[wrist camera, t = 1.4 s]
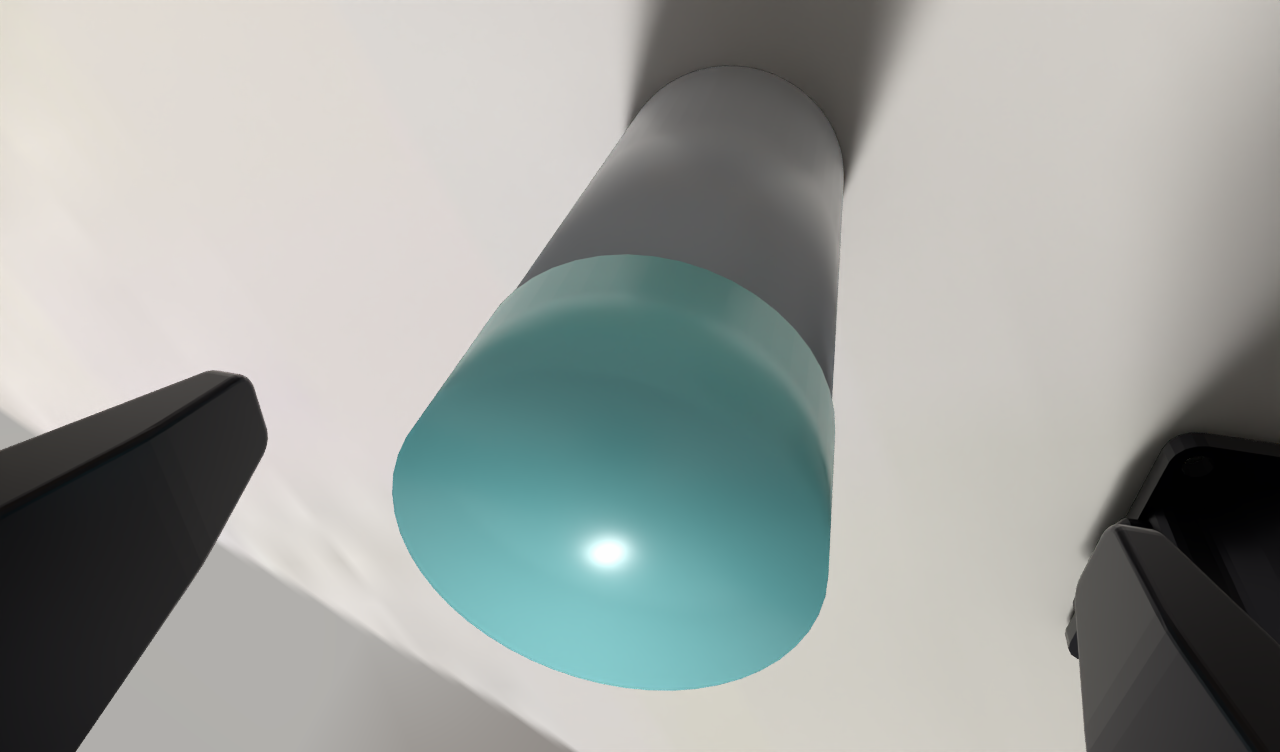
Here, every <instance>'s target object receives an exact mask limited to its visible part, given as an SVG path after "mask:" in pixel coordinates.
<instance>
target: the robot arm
mask: <svg viewBox="0 0 1280 752" xmlns="http://www.w3.org/2000/svg"><path fill="white" fill-rule="evenodd" d="M267 440H268V433H267V428H266V425H265V422H264V418H263V415H262V412H261V409H260V405H259V402H258V399H257V396H256V392H255V389H254V386H253V384H252V383H251V381H250V380H249V379H248V378H247V377H245V376H243V375H240V374H235V373H229V372H223V371H214V370H212V371H206V372H203V373H201V374H198V375H196V376H193V377H190V378H188V379H185V380H183V381H180V382H177V383H175V384H172V385H169V386H167V387H164V388H162V389H159V390H156V391H154V392H151V393H149V394H146V395H143V396H141V397H138V398H136V399H133V400H130V401H128V402H125V403H123V404H120V405H117V406H115V407H112V408H110V409H107V410H104V411H102V412H99V413H97V414H94V415H91V416H89V417H86V418H83V419H81V420H78V421H76V422H73V423H70V424H68V425H65V426H63V427H60V428H57V429H55V430H52V431H50V432H47V433H44V434H42V435H39V436H37V437H34V438H31V439H29V440H26V441H24V442H21V443H18V444H16V445H13V446H11V447H8V448H5V449H3V450H0V752H76V750H77V749H78V748H79V746H80V744H81V743H82V742H83V740H84V739H85V737H86V736H87V734H88V733H89V731H90V730H91V729H92V727H93V726H94V724H95V723H96V721H97V720H98V718H99V717H100V715H101V714H102V713H103V711H104V710H105V708H106V707H107V705H108V704H109V702H110V701H111V699H112V698H113V696H114V695H115V693H116V692H117V690H118V689H119V688H120V686H121V685H122V683H123V682H124V680H125V679H126V677H127V676H128V674H129V673H130V671H131V670H132V669H133V667H134V666H135V664H136V663H137V661H138V660H139V658H140V657H141V655H142V654H143V652H144V651H145V650H146V648H147V647H148V645H149V644H150V642H151V641H152V639H153V638H154V636H155V635H156V634H157V632H158V631H159V629H160V628H161V626H162V625H163V623H164V622H165V620H166V619H167V617H168V616H169V614H170V613H171V612H172V610H173V609H174V607H175V606H176V604H177V603H178V601H179V600H180V598H181V597H182V595H183V594H184V593H185V591H186V590H187V588H188V587H189V585H190V584H191V582H192V581H193V579H194V578H195V576H196V575H197V573H198V571H199V570H200V568H201V567H202V565H203V564H204V562H205V560H206V558H207V557H208V555H209V553H210V551H211V550H212V548H213V546H214V545H215V543H216V541H217V539H218V537H219V535H220V534H221V532H222V530H223V528H224V526H225V524H226V523H227V521H228V519H229V517H230V515H231V513H232V512H233V510H234V508H235V506H236V504H237V502H238V501H239V499H240V497H241V495H242V493H243V491H244V489H245V488H246V486H247V484H248V482H249V480H250V478H251V477H252V475H253V473H254V471H255V469H256V467H257V466H258V464H259V462H260V460H261V458H262V456H263V454H264V452H265V449H266V446H267ZM1197 456H1204V457H1203V458H1202V459H1201V460H1200V461H1197V462H1194V463H1185V462H1186V461H1187V460H1188V459H1190V458H1193V457H1197ZM1073 606H1074V610H1075V613H1074V615H1073V617H1072V619H1071V621H1070V623H1069V625H1068V626H1067V628H1066V632H1065V636H1066V640H1067V645H1068V649H1069V651H1070V653H1071V655H1073V656H1074V657H1076V658H1077V659H1079V665H1080V679H1081V692H1082V706H1083V719H1084V732H1085V742H1086V751H1087V752H1280V444H1275V443H1268V442H1262V441H1255V440H1248V439H1241V438H1235V437H1228V436H1221V435H1215V434H1208V433H1187V434H1183V435H1179V436H1177V437H1175V438H1174V439H1172V440H1170V441H1169V442H1168V443H1167V444H1166V445H1165V446H1164V448H1163V449H1162V451H1161V453H1160V454H1159V456H1158V458H1157V460H1156V462H1155V464H1154V466H1153V467H1152V469H1151V471H1150V473H1149V475H1148V477H1147V479H1146V481H1145V482H1144V484H1143V486H1142V488H1141V490H1140V492H1139V494H1138V496H1137V497H1136V499H1135V501H1134V503H1133V505H1132V507H1131V509H1130V511H1129V512H1128V514H1127V516H1126V518H1123V519H1121V520H1120V521H1119V522H1117V523H1116V524H1115V525H1111V526H1109V527H1108V528H1107V529H1106V530H1105V531H1104V533H1103V534H1102V536H1101V538H1100V540H1099V542H1098V544H1097V546H1096V548H1095V550H1094V552H1093V553H1092V555H1091V557H1090V559H1089V561H1088V563H1087V565H1086V567H1085V569H1084V571H1083V573H1082V575H1081V577H1080V579H1079V581H1078V585H1077V588H1076V594H1075V598H1074V601H1073Z"/></svg>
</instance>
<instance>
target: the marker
mask: <svg viewBox="0 0 1280 752" xmlns="http://www.w3.org/2000/svg"><path fill="white" fill-rule="evenodd" d="M843 187H844V166H843V160H842V154H841V149H840V146H839V143H838V140H837V137H836V135H835V133H834V131H833V128H832V126H831V124H830V122H829V121H828V119H827V118H826V116H825V115H824V114H823V112H822V111H821V109H820V108H819V107H818V106H817V105H816V104H815V103H814V102H813V100H812V99H811V98H810V97H808V96H807V95H806V94H805V93H804V92H803V91H801V90H800V89H799V88H797V87H796V86H794V85H793V84H791V83H790V82H788V81H786V80H785V79H782V78H780V77H778V76H776V75H774V74H771V73H768V72H765V71H762V70H758V69H754V68H748V67H742V66H719V67H710V68H706V69H702V70H698V71H694V72H691V73H689V74H686V75H684V76H681V77H679V78H677V79H676V80H674V81H672V82H671V83H669V84H667V85H666V86H664V87H663V88H662V89H661V90H659V91H658V92H657V93H655V94H654V95H653V96H652V97H651V98H650V99H649V101H648V102H647V103H646V104H645V105H644V106H643V107H642V109H641V110H640V112H639V113H638V114H637V116H636V117H635V119H634V120H633V121H632V123H631V124H630V126H629V127H628V129H627V130H626V132H625V133H624V134H623V136H622V137H621V139H620V140H619V142H618V143H617V144H616V146H615V147H614V149H613V150H612V152H611V153H610V155H609V156H608V157H607V159H606V160H605V162H604V163H603V165H602V166H601V168H600V169H599V170H598V172H597V173H596V175H595V176H594V178H593V179H592V180H591V182H590V183H589V185H588V186H587V188H586V189H585V191H584V192H583V193H582V195H581V196H580V198H579V199H578V201H577V202H576V204H575V205H574V206H573V208H572V209H571V211H570V212H569V214H568V215H567V216H566V218H565V219H564V221H563V222H562V224H561V225H560V227H559V228H558V229H557V231H556V232H555V234H554V235H553V237H552V238H551V240H550V241H549V242H548V244H547V245H546V247H545V248H544V250H543V251H542V252H541V254H540V255H539V257H538V258H537V260H536V261H535V263H534V264H533V265H532V267H531V268H530V270H529V271H528V273H527V274H526V276H525V277H524V278H523V280H522V281H521V283H520V284H519V286H518V287H517V288H516V290H515V291H514V292H513V293H512V294H510V295H509V296H508V297H507V298H506V299H505V300H504V301H503V302H502V303H501V304H500V306H499V307H498V308H497V310H496V311H495V312H494V314H493V315H492V316H491V318H490V319H489V321H488V322H487V323H486V325H485V326H484V328H483V329H482V330H481V332H480V333H479V335H478V336H477V338H476V339H475V340H474V342H473V343H472V345H471V346H470V348H469V349H468V350H467V352H466V353H465V355H464V356H463V357H462V359H461V360H460V362H459V363H458V365H457V366H456V367H455V369H454V370H453V372H452V373H451V374H450V376H449V377H448V379H447V380H446V382H445V383H444V384H443V386H442V387H441V389H440V390H439V391H438V393H437V394H436V396H435V397H434V399H433V400H432V401H431V403H430V404H429V406H428V407H427V408H426V410H425V411H424V413H423V414H422V416H421V417H420V418H419V420H418V421H417V423H416V424H415V426H414V427H413V428H412V430H411V431H410V433H409V434H408V435H407V437H406V439H405V441H404V443H403V445H402V448H401V450H400V452H399V454H398V457H397V461H396V465H395V469H394V473H393V490H392V496H393V504H394V512H395V516H396V520H397V523H398V527H399V530H400V533H401V536H402V538H403V540H404V542H405V545H406V547H407V549H408V551H409V553H410V555H411V557H412V558H413V560H414V561H415V563H416V565H417V566H418V568H419V570H420V571H421V573H422V574H423V575H424V576H425V578H426V579H427V580H428V582H429V583H430V584H431V585H432V587H433V588H434V589H435V590H436V591H437V592H438V593H439V595H440V596H441V597H442V598H443V599H444V600H445V601H446V602H447V603H448V604H449V605H450V606H451V607H452V608H453V609H454V610H456V611H457V612H458V613H459V614H460V615H461V616H462V617H464V618H465V619H466V620H467V621H468V622H470V623H471V624H472V625H474V626H475V627H476V628H478V629H479V630H481V631H482V632H483V633H485V634H486V635H487V636H489V637H491V638H492V639H494V640H495V641H497V642H499V643H500V644H502V645H504V646H505V647H507V648H509V649H510V650H512V651H514V652H516V653H518V654H520V655H522V656H524V657H526V658H528V659H530V660H532V661H535V662H537V663H539V664H542V665H544V666H546V667H549V668H551V669H554V670H557V671H560V672H563V673H565V674H568V675H571V676H574V677H578V678H581V679H585V680H589V681H593V682H597V683H601V684H607V685H612V686H618V687H623V688H632V689H643V690H686V689H698V688H704V687H710V686H716V685H721V684H724V683H728V682H731V681H735V680H738V679H742V678H744V677H746V676H749V675H751V674H753V673H756V672H758V671H761V670H762V669H764V668H766V667H768V666H769V665H771V664H773V663H774V662H776V661H778V660H780V659H781V658H782V657H783V656H784V655H786V654H787V653H788V652H789V651H791V650H792V649H793V648H794V647H795V646H796V645H797V644H798V643H799V642H800V641H801V640H802V639H803V637H804V636H805V635H806V634H807V633H808V632H809V630H810V628H811V627H812V625H813V623H814V622H815V620H816V618H817V617H818V615H819V612H820V610H821V607H822V604H823V601H824V598H825V595H826V588H827V581H828V571H829V550H830V529H831V507H832V486H833V465H834V443H835V418H834V408H833V403H832V389H833V371H834V352H835V334H836V316H837V297H838V279H839V260H840V242H841V224H842V205H843Z"/></svg>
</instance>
